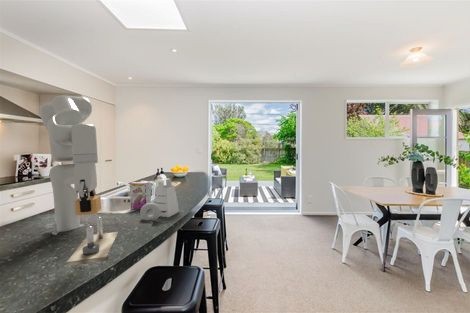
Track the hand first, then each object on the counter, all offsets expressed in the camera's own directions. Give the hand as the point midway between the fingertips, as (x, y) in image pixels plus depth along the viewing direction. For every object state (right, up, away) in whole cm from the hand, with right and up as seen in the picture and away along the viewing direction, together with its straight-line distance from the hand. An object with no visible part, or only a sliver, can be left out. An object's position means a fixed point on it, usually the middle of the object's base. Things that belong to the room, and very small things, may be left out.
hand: (88, 208), depth 88 cm
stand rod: (-4, -15, +15) cm, 22 cm away
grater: (+13, -14, +53) cm, 56 cm away
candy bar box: (-7, -14, +66) cm, 68 cm away
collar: (0, -1, 0) cm, 1 cm away
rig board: (-2, -17, +8) cm, 19 cm away
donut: (+9, -15, +39) cm, 43 cm away
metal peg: (0, -16, +1) cm, 16 cm away
